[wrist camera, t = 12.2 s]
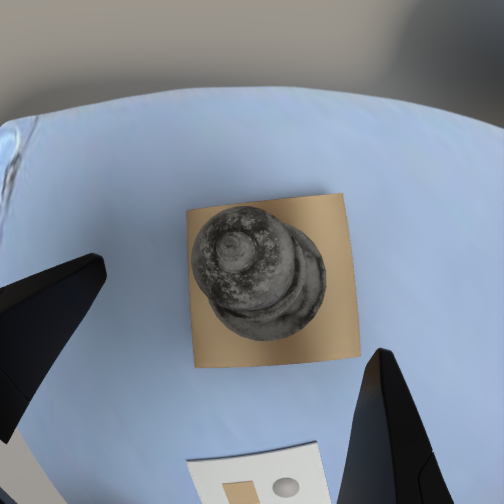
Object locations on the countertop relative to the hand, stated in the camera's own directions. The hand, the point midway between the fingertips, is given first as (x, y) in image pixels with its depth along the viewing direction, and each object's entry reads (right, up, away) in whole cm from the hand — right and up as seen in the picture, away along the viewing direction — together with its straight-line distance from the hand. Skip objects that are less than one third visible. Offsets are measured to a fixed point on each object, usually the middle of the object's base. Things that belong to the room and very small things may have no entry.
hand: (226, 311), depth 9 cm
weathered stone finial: (+2, 0, +10) cm, 10 cm away
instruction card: (+1, -16, +10) cm, 19 cm away
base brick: (+2, -1, +12) cm, 13 cm away
